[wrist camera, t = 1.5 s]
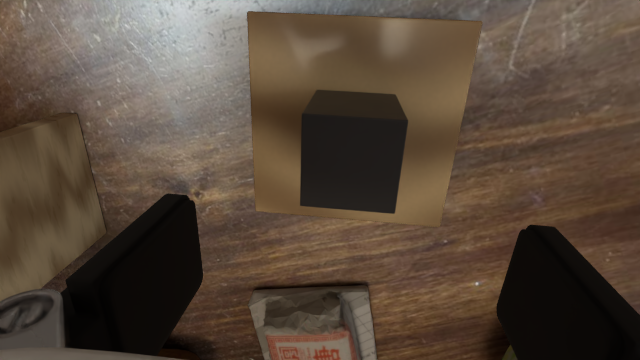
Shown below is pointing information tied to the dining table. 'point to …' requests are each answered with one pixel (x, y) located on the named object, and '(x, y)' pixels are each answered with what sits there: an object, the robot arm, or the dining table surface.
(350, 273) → the dining table surface
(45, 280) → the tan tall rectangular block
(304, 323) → the packaged product
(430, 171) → the tan flat square block
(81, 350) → the robot arm
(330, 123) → the block
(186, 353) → the potato
